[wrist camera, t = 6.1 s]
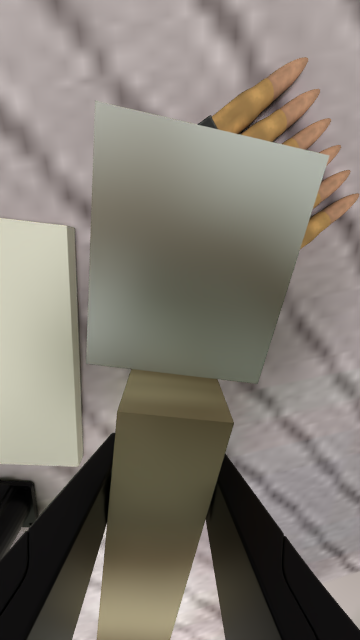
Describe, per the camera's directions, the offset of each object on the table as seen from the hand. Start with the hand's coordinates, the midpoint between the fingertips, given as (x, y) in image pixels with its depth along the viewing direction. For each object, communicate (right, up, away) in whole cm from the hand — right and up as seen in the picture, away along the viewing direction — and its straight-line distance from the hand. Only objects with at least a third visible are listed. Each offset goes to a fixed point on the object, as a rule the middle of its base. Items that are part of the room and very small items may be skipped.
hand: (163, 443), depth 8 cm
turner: (0, +1, +1) cm, 1 cm away
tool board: (-13, +2, +10) cm, 16 cm away
